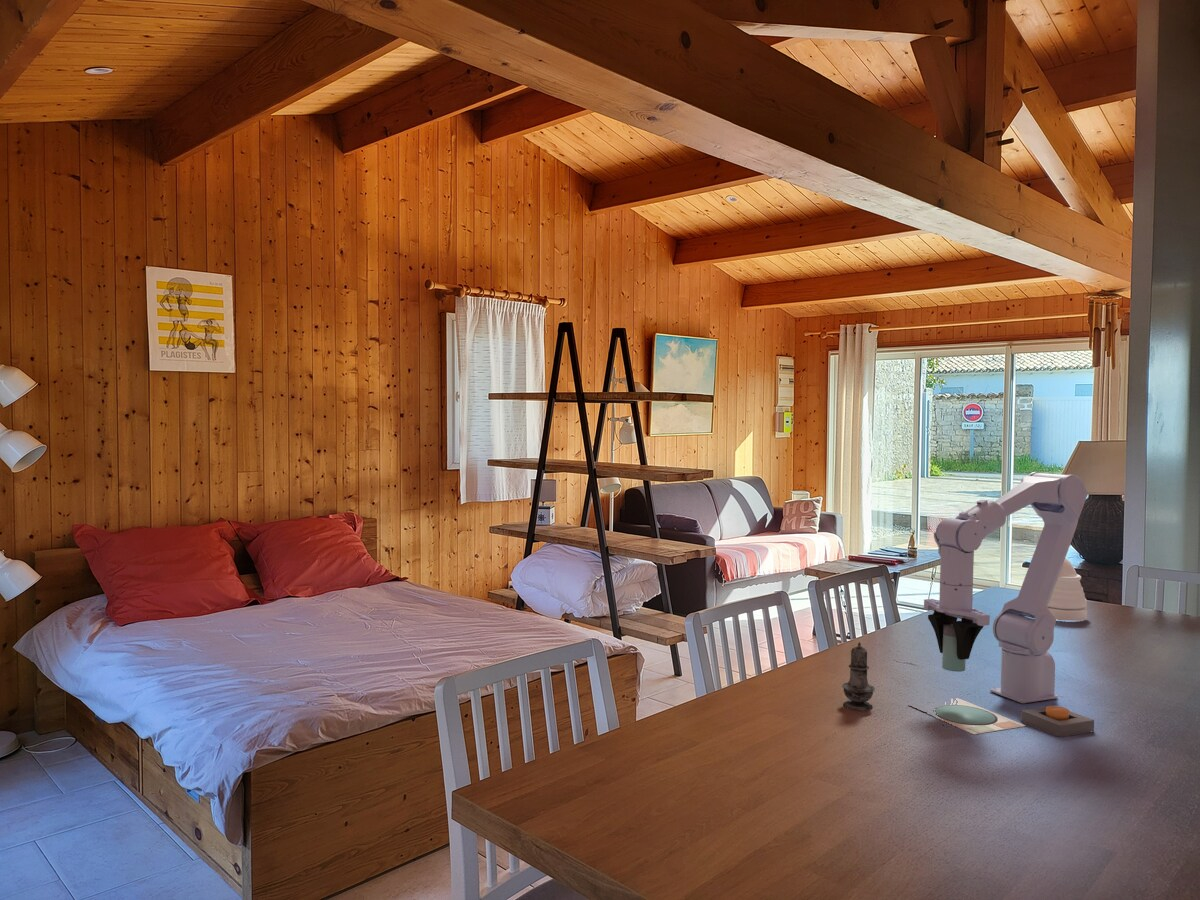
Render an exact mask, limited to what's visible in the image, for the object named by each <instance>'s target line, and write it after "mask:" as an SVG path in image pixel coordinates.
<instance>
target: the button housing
mask: <svg viewBox="0 0 1200 900" xmlns="http://www.w3.org/2000/svg"><path fill="white" fill-rule="evenodd" d="M1046 707H1047V706H1043V707H1035V708H1030V709H1023V710H1021V711H1020V712H1021V714H1020V723H1022V724H1023V723H1024V724H1025V725H1028V726H1031V727H1034V728H1036V729H1039V730H1041V731H1043V732H1046V733H1048V734H1050V735H1053V736H1056V737H1058V738H1062V737H1063V738H1064V737H1068V736H1073V735H1075V736H1076V735H1081V734H1086V733H1092V732H1091V731H1093V732H1095V719H1093V718H1090V717H1087V716H1085V715H1083V714H1079V713H1077V712H1074V711H1071V710H1069V719H1067V720H1061V721H1058V720H1056V719H1053V718H1050V717H1048V716H1046Z"/></svg>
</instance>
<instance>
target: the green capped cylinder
mask: <svg viewBox="0 0 1200 900" xmlns="http://www.w3.org/2000/svg"><path fill="white" fill-rule="evenodd" d="M941 658H942V659H941V660H942V662H941V663H942V664H941V665H942V666H941V667H942V669H943V670H944V671H945V670H946V671H949V672H957V673H959V672H961V673H962V672H965V671H966V661H967V659H963V660H960V659H958V657H957V641H956V635H955V630H954V627H953V625H952V624H944V625H943V653H942V657H941Z"/></svg>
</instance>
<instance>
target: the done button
mask: <svg viewBox="0 0 1200 900" xmlns="http://www.w3.org/2000/svg"><path fill="white" fill-rule="evenodd" d="M1045 707H1046V716H1048V717H1050V718H1053V719H1056V720H1058V721H1061V720H1067V719H1069V711H1070V709H1068V708H1066V707H1063V706H1059V705H1047V706H1045Z"/></svg>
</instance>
